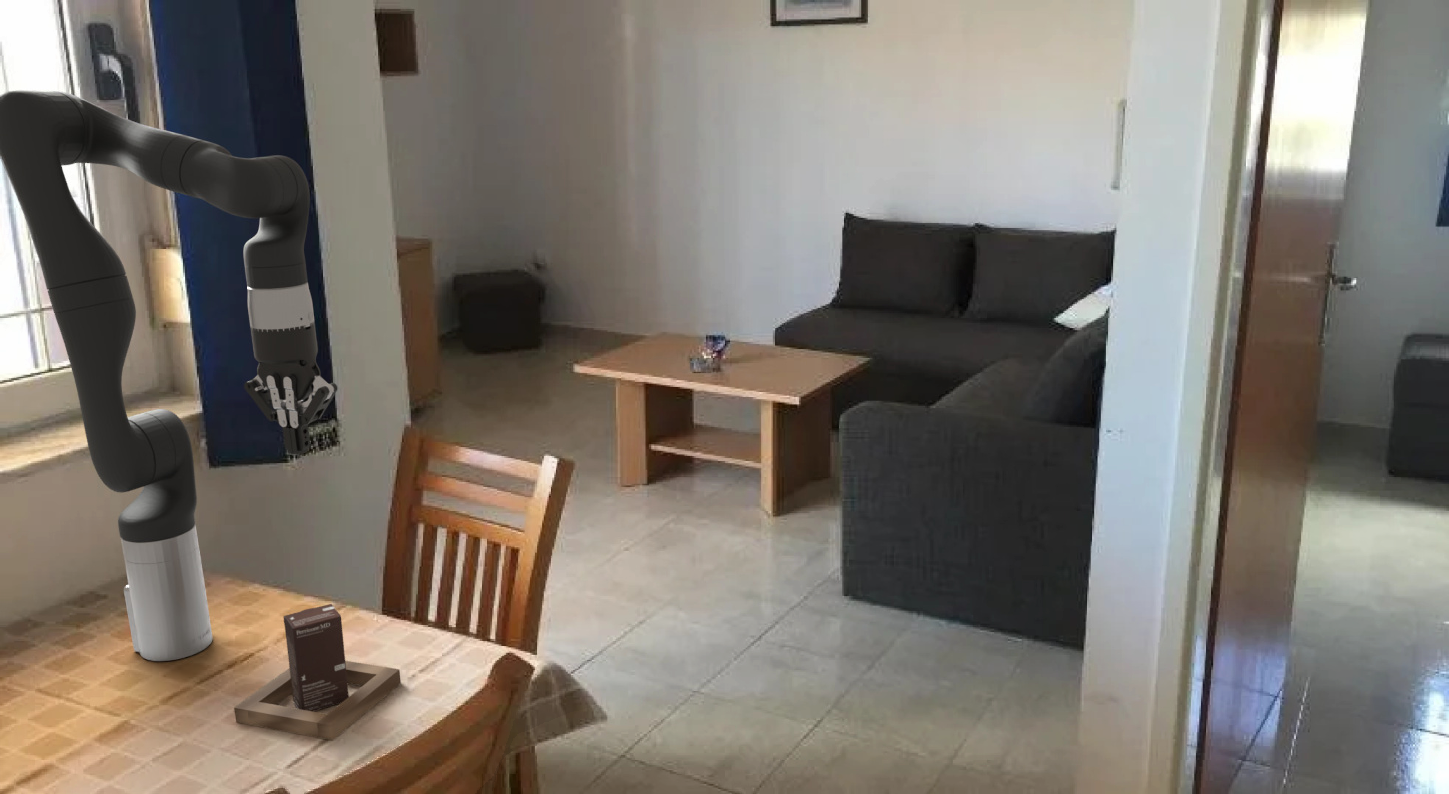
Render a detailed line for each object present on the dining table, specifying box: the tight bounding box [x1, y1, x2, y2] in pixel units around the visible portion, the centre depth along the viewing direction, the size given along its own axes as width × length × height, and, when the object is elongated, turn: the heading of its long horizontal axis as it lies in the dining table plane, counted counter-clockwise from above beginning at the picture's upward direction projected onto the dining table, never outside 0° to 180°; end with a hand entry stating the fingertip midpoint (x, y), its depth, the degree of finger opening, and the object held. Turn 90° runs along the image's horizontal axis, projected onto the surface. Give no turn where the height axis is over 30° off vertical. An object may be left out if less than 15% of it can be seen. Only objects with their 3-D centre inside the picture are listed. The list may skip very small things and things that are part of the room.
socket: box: [233, 660, 402, 741], centre depth 147 cm, size 14×14×2 cm
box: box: [283, 603, 349, 712], centre depth 146 cm, size 6×4×12 cm
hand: (298, 453), depth 151 cm, fingers closed
